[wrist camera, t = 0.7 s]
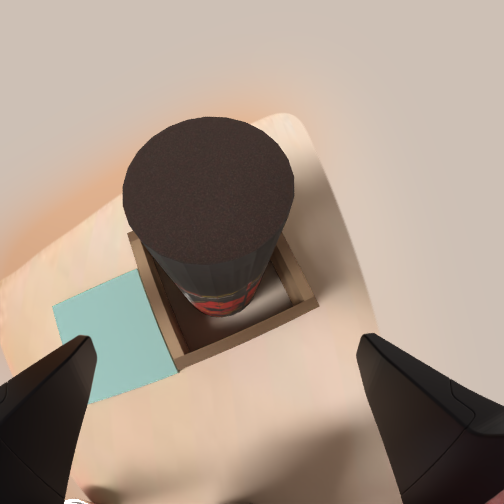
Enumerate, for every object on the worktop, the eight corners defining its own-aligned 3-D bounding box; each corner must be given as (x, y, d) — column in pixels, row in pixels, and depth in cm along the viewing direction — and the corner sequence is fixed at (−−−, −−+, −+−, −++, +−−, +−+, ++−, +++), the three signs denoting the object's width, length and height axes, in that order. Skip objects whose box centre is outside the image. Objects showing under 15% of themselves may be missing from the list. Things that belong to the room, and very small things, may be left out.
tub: (307, 312, 23) (319, 306, 20) (186, 366, 21) (178, 370, 18) (251, 203, 26) (255, 182, 23) (139, 248, 24) (127, 233, 21)
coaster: (179, 372, 21) (177, 373, 21) (88, 404, 19) (85, 405, 19) (138, 270, 24) (136, 268, 23) (55, 307, 22) (52, 306, 21)
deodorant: (171, 296, 23) (91, 217, 9) (205, 234, 25) (181, 100, 11) (237, 330, 23) (247, 299, 8) (268, 264, 25) (317, 152, 10)
